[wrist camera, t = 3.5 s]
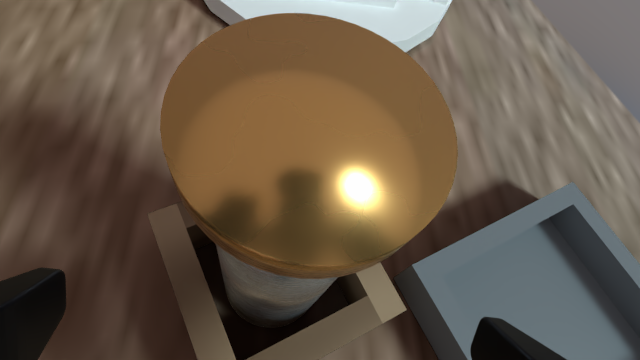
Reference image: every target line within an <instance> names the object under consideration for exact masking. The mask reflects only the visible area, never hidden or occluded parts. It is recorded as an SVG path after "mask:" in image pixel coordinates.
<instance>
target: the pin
mask: <svg viewBox="0 0 640 360" xmlns="http://www.w3.org/2000/svg"><path fill="white" fill-rule="evenodd" d="M160 131H161V139H162V146H163V150H164V154H165V157H166V160H167V164H168V167H169V170H170V172H171V175H172V178H173V181H174V184H175V186H176V189H177V192H178V194H179V196H180V198H181V200H182V202H183V205H184V207H185V209H186V210H187V212H188V213H189V214H190V216H191V217H192V219H193V220H194V222H195V223H196V224H197V226H198V227H199V228H200V229H201V230H202V231H203V232H204V233H205V234H206V235H207V236H208V238H210V239H211V240H212V241H213V242H214V243H216V247H217V252H218V256H219V261H220V266H221V271H222V275H223V280H224V285H225V290H226V294H227V297H228V300H229V302H230V304H231V306H232V307H233V309H234V310H235V311H236V313H237V314H238V315H239V316H240V317H242V318H243V319H244V320H246V321H247V322H249V323H251V324H253V325H256V326H260V327H265V328H276V327H282V326H285V325H288V324H290V323H292V322H294V321H296V320H297V319H299V318H300V317H301V316H302V315H303V314H304V313H305V312H306V311H307V310H308V309H309V308H310V307H311V306H312V305H313V304H314V303H315V301H316V300H317V299H318V298H319V297H320V296H321V295H322V294H323V293H324V292H325V291H326V290H327V289H328V287H329V286H330V285H331V284H332V283H333V282H334V281H335V280H336V279H337V278H338V277H341V276H345V275H349V274H353V273H357V272H360V271H362V270H365V269H367V268H370V267H372V266H375V265H376V264H378V263H380V262H382V261H383V260H385V259H387V258H388V257H390V256H391V255H393V254H394V253H395V252H396V251H397V250H399V249H400V248H401V247H402V246H404V245H405V244H406V243H407V242H408V241H410V240H411V239H412V238H413V237H414V236H416V235H417V234H418V233H419V232H420V231H422V230H423V229H424V228H425V227H426V226H427V225H428V224H429V223H430V221H431V220H432V219H433V218H434V217H435V216H436V215H437V213H438V212H439V210H440V209H441V207H442V205H443V204H444V202H445V201H446V199H447V197H448V194H449V192H450V190H451V187H452V185H453V181H454V177H455V173H456V168H457V156H458V150H457V137H456V132H455V127H454V122H453V120H452V117H451V114H450V111H449V108H448V106H447V104H446V102H445V100H444V98H443V96H442V94H441V93H440V91H439V90H438V88H437V86H436V85H435V83H434V82H433V80H432V79H431V78H430V77H429V76H428V74H427V73H426V72H425V71H424V70H423V68H422V67H421V66H420V65H419V64H418V63H416V62H415V61H414V60H413V59H412V58H411V57H410V56H409V55H408V54H406V53H405V52H404V51H403V50H402V49H400V48H399V47H398V46H396V45H395V44H393V43H391V42H390V41H388V40H387V39H385V38H384V37H382V36H380V35H378V34H376V33H374V32H372V31H370V30H368V29H366V28H363V27H361V26H359V25H356V24H353V23H350V22H347V21H344V20H341V19H337V18H332V17H328V16H323V15H315V14H307V13H279V14H270V15H264V16H258V17H254V18H250V19H246V20H243V21H240V22H238V23H235V24H232V25H230V26H227V27H226V28H224V29H222V30H220V31H218V32H216V33H214V34H213V35H211V36H210V37H208V38H207V39H205V40H204V41H203V42H201V43H200V44H199V45H198V46H197V47H196V48H194V49H193V50H192V51H191V52H190V53H189V54H188V55H187V57H186V58H185V59H184V60H183V61H182V63H181V64H180V65H179V66H178V68H177V70H176V72H175V73H174V75H173V77H172V78H171V80H170V83H169V85H168V88H167V90H166V93H165V95H164V100H163V105H162V109H161V124H160Z"/></svg>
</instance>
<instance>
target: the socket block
mask: <svg viewBox="0 0 640 360" xmlns="http://www.w3.org/2000/svg"><path fill="white" fill-rule="evenodd" d="M147 215H148V218H149V221H150V224H151V227H152V230H153V233H154V235H155V238H156V241H157V244H158V247H159V250H160V253H161V256H162V259H163V261H164V264H165V267H166V270H167V273H168V276H169V279H170V282H171V284H172V287H173V290H174V293H175V296H176V299H177V302H178V305H179V307H180V310H181V313H182V316H183V319H184V322H185V325H186V328H187V331H188V333H189V336H190V339H191V342H192V345H193V348H194V351H195V354H196V356H197V359H198V360H236V358H235V355H234V352H233V350H232V347H231V345H230V342H229V339H228V337H227V334H226V331H225V329H224V326H223V324H222V321H221V318H220V316H219V313H218V311H217V308H216V305H215V303H214V300H213V297H212V295H211V292H210V290H209V287H208V284H207V282H206V279H205V276H204V274H203V271H202V269H201V266H200V263H199V261H198V258H197V255H196V253H195V249H198V248H200V247H203V246H205V245H208V244H210V243H212V242H213V241H212V240H211V239H210V238H208V236H207V235H206V234H205V233H204V232H203V231H202V230H201V229H200V228H199V227H198V226H197V224H196V223H195V222H194V220H193V219H192V217H191V216H190V214H189V213H188V212H187V210H186V209H185V207H184V205H183V202H182V201H181V202H179V203H176V204H173V205H170V206H167V207H164V208H162V209H159V210H156V211H153V212H150V213H148V214H147ZM336 280H337V282H338V284H339V286H340V288H341V290H342V292H343V294H344V296H345V298H346V300H347V302H348V304H349V306H347V307H345V308H343V309H341V310H339V311H337V312H336V313H334V314H332V315H330V316H328V317H326V318H324V319H322V320H320V321H318V322H316V323H315V324H313V325H311V326H309V327H307V328H305V329H303V330H301V331H299V332H297V333H295V334H294V335H292V336H290V337H288V338H286V339H284V340H282V341H280V342H278V343H276V344H274V345H273V346H271V347H269V348H267V349H265V350H263V351H261V352H259V353H257V354H255V355H253V356H252V357H250V358H248V359H246V360H319V359H320V358H322V357H324V356H326V355H328V354H329V353H331V352H333V351H335V350H337V349H338V348H340V347H342V346H344V345H345V344H347V343H349V342H351V341H353V340H354V339H356V338H358V337H360V336H361V335H363V334H365V333H367V332H369V331H370V330H372V329H374V328H376V327H377V326H379V325H381V324H383V323H385V322H386V321H388V320H390V319H392V318H393V317H395V316H397V315H399V314H401V313H402V312H404V311H406V310H407V309H406V307H405V306H404V304H403V302H402V300H401V298H400V297H399V295H398V293H397V291H396V290H395V288H394V286H393V284H392V282H391V281H390V279H389V277H388V275H387V273H386V272H385V270H384V268H383V266H382V264H381V263H378V264H376V265H375V266H372V267H370V268H367V269H365V270H362V271H360V272H357V273H353V274H349V275H345V276H341V277H338V278H337V279H336Z"/></svg>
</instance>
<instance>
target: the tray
mask: <svg viewBox="0 0 640 360" xmlns="http://www.w3.org/2000/svg"><path fill="white" fill-rule="evenodd" d="M394 280H395V282H396V284H397V285H398V287H399V289H400V291H401V293H402V294H403V296H404V298H405V300H406V301H407V303H408V305H409V307H410V309H411V310H412V312H413V314H414V316H415V318H416V319H417V321H418V323H419V325H420V326H421V328H422V330H423V332H424V334H425V335H426V337H427V339H428V341H429V342H430V344H431V346H432V348H433V350H434V351H435V353H436V355H437V357H438V358H439V360H472V358H471V353H470V348H471V343H472V341H473V338H474V335H475V332H476V329H477V327H478V324H479V321H480V320H481V318H483V317H494V318H501V319H503V320H505V321H506V322H508V323H509V324H511V325H513V326H514V327H516V328H517V329H519V330H521V331H522V332H524V333H525V334H527V335H529V336H530V337H532V338H533V339H535V340H537V341H538V342H540V343H541V344H543V345H545V346H546V347H548V348H549V349H551V350H553V351H554V352H556V353H557V354H559V355H561V356H562V357H564V358H566V359H567V360H640V264H639V263H638V262H637V261H636V259H635V258H634V257H633V256H632V254H631V253H630V252H629V251H628V249H627V248H626V247H625V246H624V244H623V243H622V242H621V241H620V239H619V238H618V237H617V236H616V235H615V233H614V232H613V231H612V230H611V228H610V227H609V226H608V225H607V223H606V222H605V221H604V220H603V218H602V217H601V216H600V215H599V213H598V212H597V211H596V210H595V209H594V207H593V206H592V205H591V204H590V202H589V201H588V200H587V199H586V197H585V196H584V195H583V194H582V192H581V191H580V190H579V189H578V188H577V186H576V185H575V184H574V183H573V182H572V183H570V184H568V185H566V186H564V187H562V188H560V189H558V190H556V191H555V192H553V193H551V194H549V195H547V196H545V197H543V198H541V199H539V200H537V201H535V202H533V203H531V204H529V205H527V206H525V207H524V208H522V209H520V210H518V211H516V212H514V213H512V214H510V215H508V216H506V217H504V218H502V219H500V220H498V221H496V222H494V223H492V224H491V225H489V226H487V227H485V228H483V229H481V230H479V231H477V232H475V233H473V234H471V235H469V236H467V237H465V238H463V239H461V240H460V241H458V242H456V243H454V244H452V245H450V246H448V247H446V248H444V249H442V250H440V251H438V252H436V253H434V254H432V255H430V256H428V257H427V258H425V259H423V260H421V261H419V262H417V263H415V264H413V265H411V266H410V267H408V268H407V269H405V270H404V271H403V272H401V273H400V274H398V275H397V276H395V277H394Z"/></svg>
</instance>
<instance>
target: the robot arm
mask: <svg viewBox="0 0 640 360" xmlns="http://www.w3.org/2000/svg"><path fill="white" fill-rule="evenodd" d="M65 308H66V281H65V274H64V272H63V271H62V270H60V269H51V268H38V269H35V270H32V271H29V272H26V273H23V274H20V275H18V276H15V277H12V278H9V279H6V280H3V281H0V360H38V358H39V356H40V355H41V353H42V351H43V350H44V348H45V346H46V344H47V343H48V341H49V339H50V338H51V336H52V334H53V332H54V331H55V329H56V327H57V326H58V324H59V322H60V320H61V319H62V317H63V315H64V312H65ZM470 353H471V358H472V360H567V359H566V358H564V357H562V356H561V355H559V354H557V353H556V352H554V351H553V350H551V349H549V348H548V347H546V346H545V345H543V344H541V343H540V342H538V341H537V340H535V339H533V338H532V337H530V336H529V335H527V334H525V333H524V332H522V331H521V330H519V329H517V328H516V327H514V326H513V325H511V324H509V323H508V322H506V321H505V320H503V319H501V318H494V317H483V318H481V320H480V321H479V324H478V327H477V329H476V332H475V335H474V338H473V341H472V343H471V348H470Z"/></svg>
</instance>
